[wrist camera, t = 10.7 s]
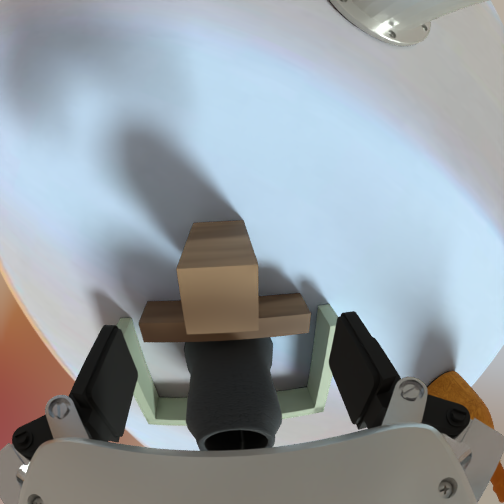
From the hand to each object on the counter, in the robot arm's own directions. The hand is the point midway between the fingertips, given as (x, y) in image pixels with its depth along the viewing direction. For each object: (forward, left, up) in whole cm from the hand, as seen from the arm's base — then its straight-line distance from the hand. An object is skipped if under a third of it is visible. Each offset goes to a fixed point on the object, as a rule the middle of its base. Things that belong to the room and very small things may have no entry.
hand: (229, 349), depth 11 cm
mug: (+13, 0, -13) cm, 18 cm away
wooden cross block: (+2, 0, -12) cm, 13 cm away
